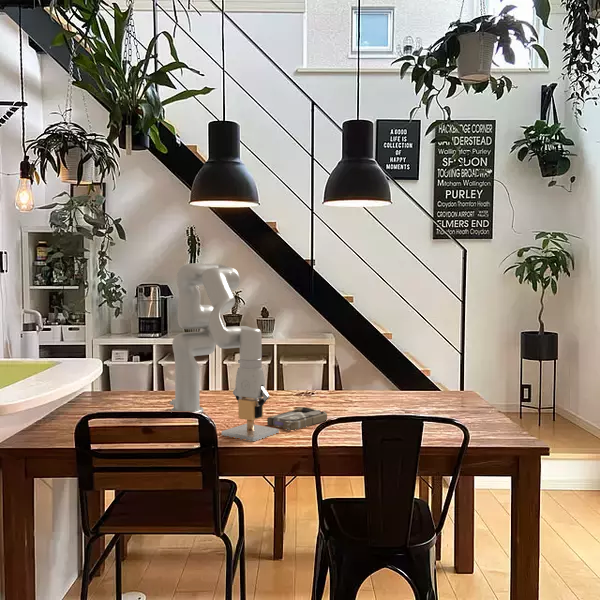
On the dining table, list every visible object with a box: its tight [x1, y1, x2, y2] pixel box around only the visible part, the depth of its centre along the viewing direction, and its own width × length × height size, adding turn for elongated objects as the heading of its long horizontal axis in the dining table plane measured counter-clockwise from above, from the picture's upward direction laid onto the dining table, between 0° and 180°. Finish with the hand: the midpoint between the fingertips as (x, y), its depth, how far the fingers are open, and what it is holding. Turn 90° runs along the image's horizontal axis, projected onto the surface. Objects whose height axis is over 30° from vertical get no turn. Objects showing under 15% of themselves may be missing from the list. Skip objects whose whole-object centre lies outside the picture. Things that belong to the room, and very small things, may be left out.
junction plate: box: [221, 420, 280, 442], centre depth 229 cm, size 14×14×6 cm
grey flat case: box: [266, 406, 328, 431], centre depth 248 cm, size 4×24×15 cm
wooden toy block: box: [237, 398, 264, 421], centre depth 229 cm, size 6×6×6 cm
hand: (250, 415), depth 229 cm, fingers closed on wooden toy block, 5 cm apart
